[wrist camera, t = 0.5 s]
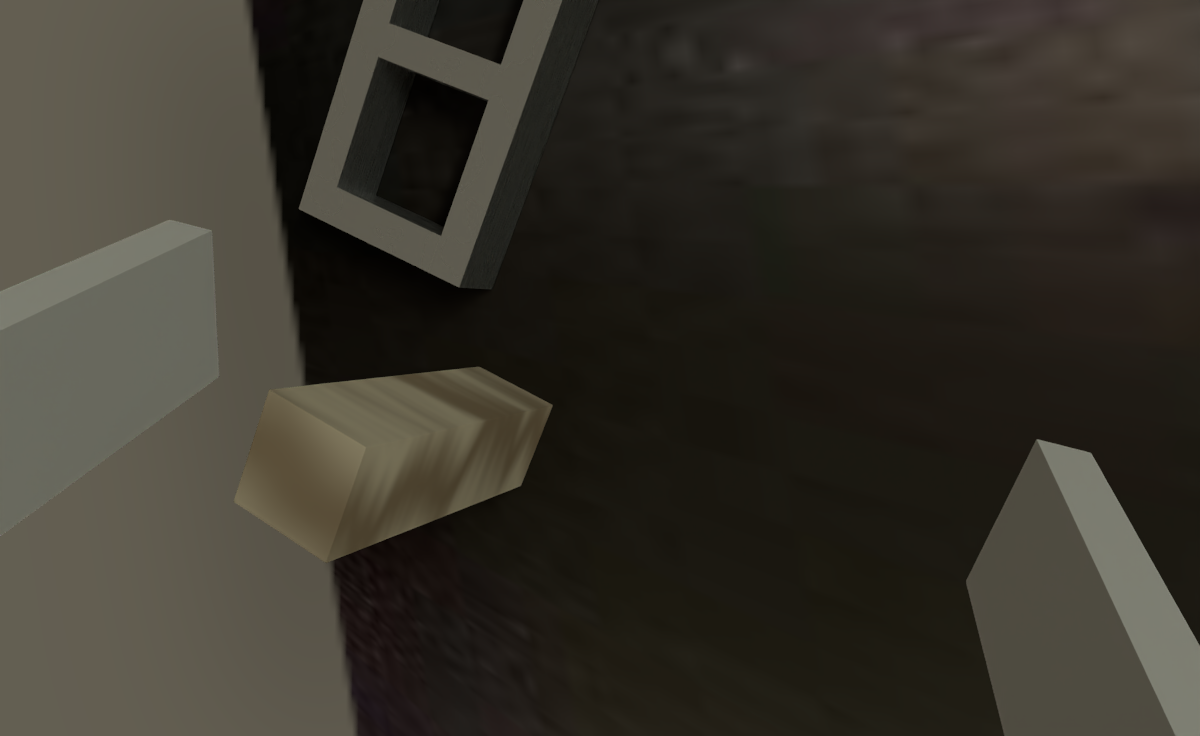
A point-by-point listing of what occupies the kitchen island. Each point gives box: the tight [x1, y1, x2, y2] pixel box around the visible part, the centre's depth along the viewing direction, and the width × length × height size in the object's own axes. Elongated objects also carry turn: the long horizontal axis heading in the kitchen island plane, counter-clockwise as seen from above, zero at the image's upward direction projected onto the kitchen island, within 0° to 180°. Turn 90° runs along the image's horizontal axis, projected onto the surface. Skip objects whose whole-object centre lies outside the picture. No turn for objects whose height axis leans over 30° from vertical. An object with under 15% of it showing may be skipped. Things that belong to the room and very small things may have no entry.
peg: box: [234, 367, 553, 563], centre depth 35 cm, size 4×4×14 cm
